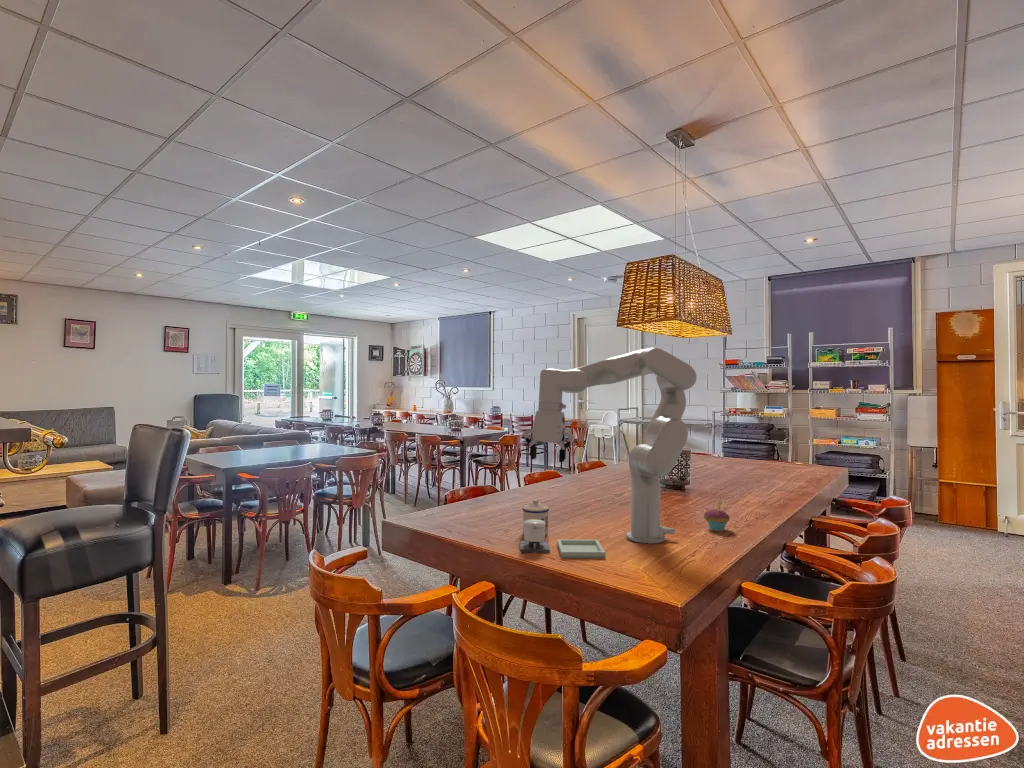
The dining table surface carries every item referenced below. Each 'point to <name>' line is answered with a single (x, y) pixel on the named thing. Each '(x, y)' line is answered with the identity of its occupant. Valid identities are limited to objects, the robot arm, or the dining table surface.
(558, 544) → the tray
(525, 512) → the teacup with lid
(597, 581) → the dining table surface
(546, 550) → the post stand
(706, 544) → the dining table surface
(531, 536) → the white earbud case
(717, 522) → the cupcake
